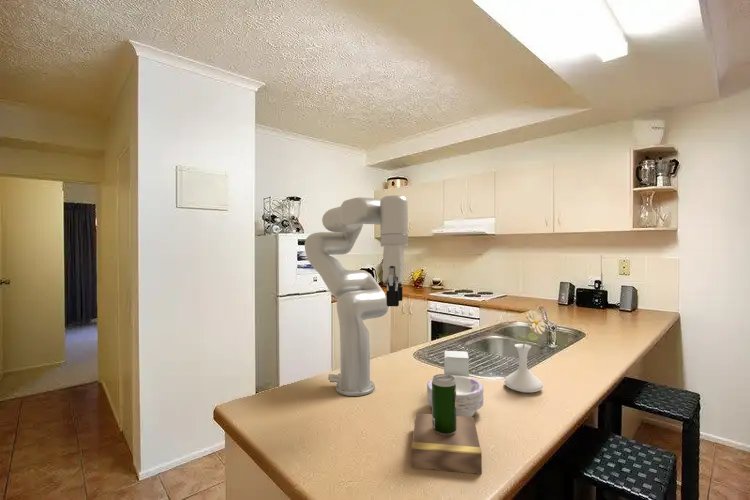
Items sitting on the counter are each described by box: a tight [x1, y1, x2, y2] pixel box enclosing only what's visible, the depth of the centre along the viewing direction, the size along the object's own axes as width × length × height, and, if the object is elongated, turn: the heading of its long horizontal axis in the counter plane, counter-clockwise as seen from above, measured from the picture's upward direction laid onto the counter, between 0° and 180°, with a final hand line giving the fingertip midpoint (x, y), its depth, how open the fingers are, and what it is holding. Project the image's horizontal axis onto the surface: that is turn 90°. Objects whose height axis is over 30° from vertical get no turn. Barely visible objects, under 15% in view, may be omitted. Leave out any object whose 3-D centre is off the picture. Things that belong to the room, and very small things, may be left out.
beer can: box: [431, 373, 457, 436], centre depth 81 cm, size 5×5×12 cm
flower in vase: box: [504, 309, 546, 393], centre depth 115 cm, size 13×11×25 cm
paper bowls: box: [426, 375, 485, 417], centre depth 99 cm, size 15×15×8 cm
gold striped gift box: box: [411, 412, 483, 475], centre depth 81 cm, size 14×16×4 cm
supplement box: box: [443, 350, 470, 378], centre depth 111 cm, size 7×7×13 cm
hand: (394, 303), depth 99 cm, fingers open, 9 cm apart
